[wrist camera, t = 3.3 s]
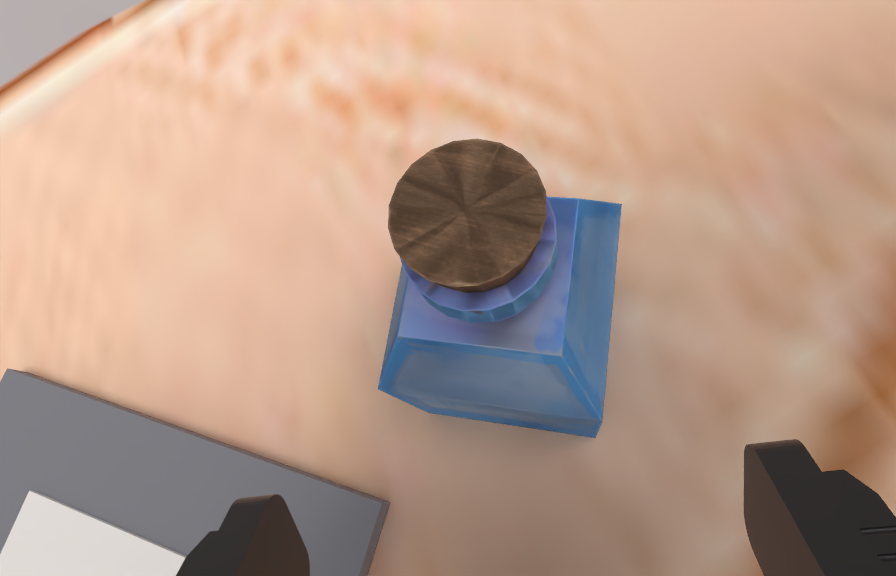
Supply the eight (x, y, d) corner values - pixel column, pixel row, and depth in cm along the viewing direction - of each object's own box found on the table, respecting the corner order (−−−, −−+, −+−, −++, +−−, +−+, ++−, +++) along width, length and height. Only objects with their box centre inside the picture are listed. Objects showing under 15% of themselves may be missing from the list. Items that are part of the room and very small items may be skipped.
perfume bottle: (610, 273, 23) (642, 77, 12) (595, 437, 21) (616, 389, 10) (454, 260, 24) (351, 73, 13) (428, 412, 23) (285, 345, 12)
